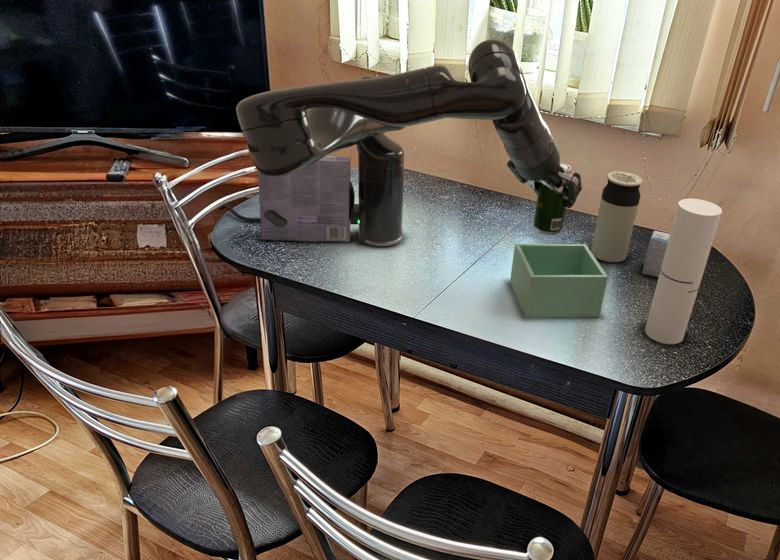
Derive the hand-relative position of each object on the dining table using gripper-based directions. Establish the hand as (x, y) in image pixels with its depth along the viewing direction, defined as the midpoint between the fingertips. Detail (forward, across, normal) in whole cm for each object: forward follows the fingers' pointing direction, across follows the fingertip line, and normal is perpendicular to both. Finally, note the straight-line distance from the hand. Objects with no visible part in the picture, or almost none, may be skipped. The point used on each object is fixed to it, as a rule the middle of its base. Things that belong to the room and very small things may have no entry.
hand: (557, 198), depth 124 cm
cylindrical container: (+17, +25, -11) cm, 32 cm away
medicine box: (+32, +14, +4) cm, 36 cm away
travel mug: (+32, +2, +4) cm, 32 cm away
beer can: (+3, 0, -5) cm, 6 cm away
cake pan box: (+3, -49, -26) cm, 55 cm away
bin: (+14, +3, -14) cm, 20 cm away
